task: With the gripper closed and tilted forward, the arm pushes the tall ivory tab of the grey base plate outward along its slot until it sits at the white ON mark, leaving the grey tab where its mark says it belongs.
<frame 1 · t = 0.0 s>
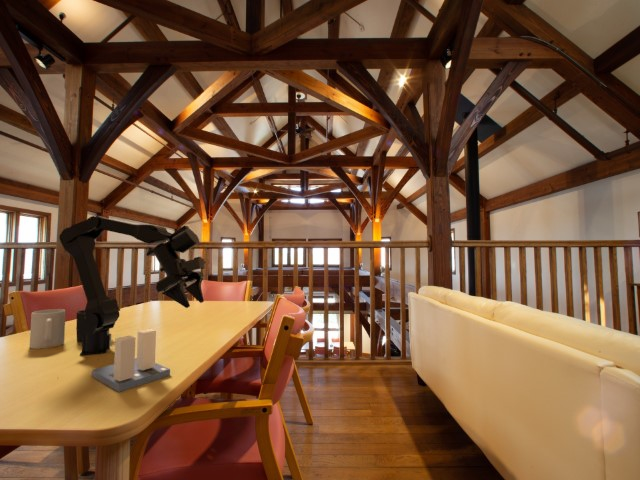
hand: (195, 304, 92), 15 cm above the table, tool tilted 35°, fingers open, 9 cm apart
tab a: (146, 349, 76), point 6 cm above the table, slide at 0.0 cm
mug: (47, 346, 98), on the table
grey base plate: (140, 372, 77), on the table
pen holder: (92, 340, 106), on the table
tab b: (124, 357, 70), point 6 cm above the table, slide at 0.0 cm
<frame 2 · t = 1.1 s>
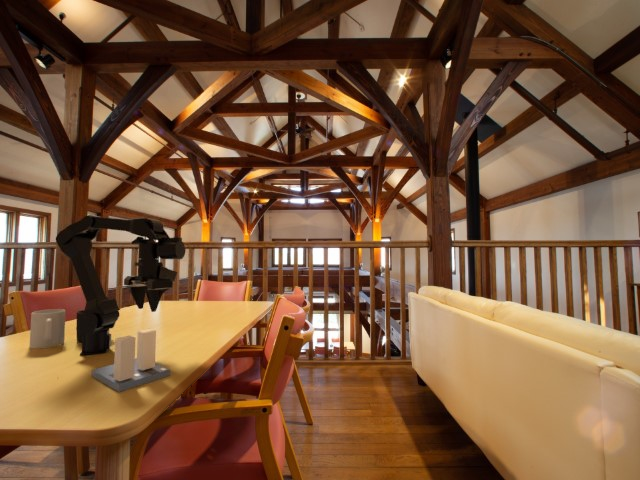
hand: (147, 310, 93), 13 cm above the table, tool pointing down, fingers open, 8 cm apart
nothing on the table moved.
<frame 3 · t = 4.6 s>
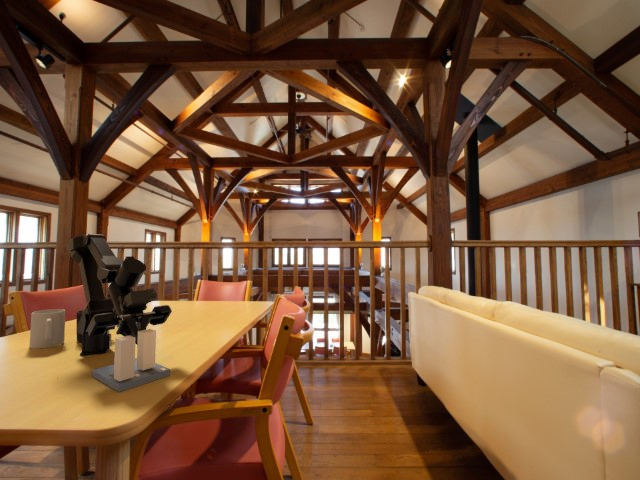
hand: (143, 346, 77), 7 cm above the table, tool tilted 45°, fingers closed, pressing on tab a
tab a: (146, 349, 76), point 6 cm above the table, slide at 0.1 cm, touching gripper
everything else where it was.
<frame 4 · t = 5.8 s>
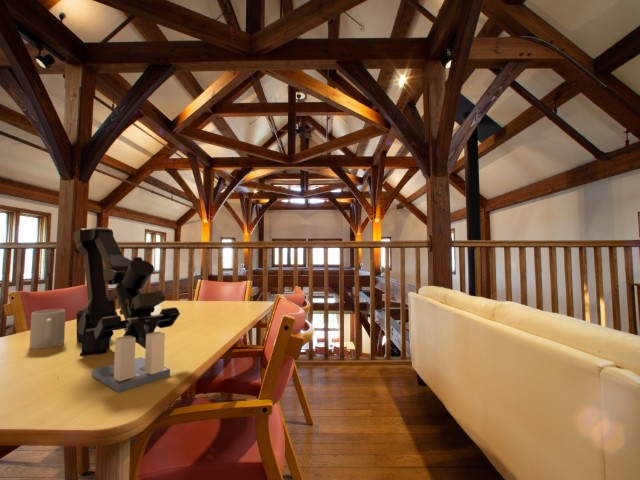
hand: (151, 350, 75), 7 cm above the table, tool tilted 45°, fingers closed, pressing on tab a
tab a: (154, 352, 74), point 6 cm above the table, slide at 4.2 cm, touching gripper
everything else where it was.
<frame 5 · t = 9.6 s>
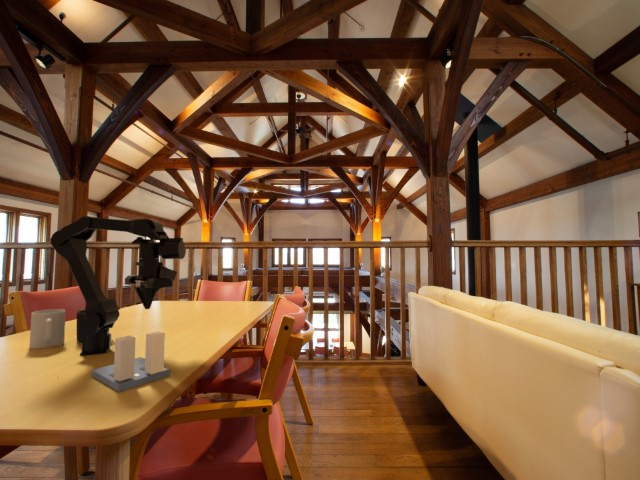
hand: (147, 308, 95), 13 cm above the table, tool pointing down, fingers closed
tab a: (154, 352, 74), point 6 cm above the table, slide at 4.2 cm
everything else where it was.
at the end: tab a slide at 4.2 cm; tab b slide at 0.0 cm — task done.
